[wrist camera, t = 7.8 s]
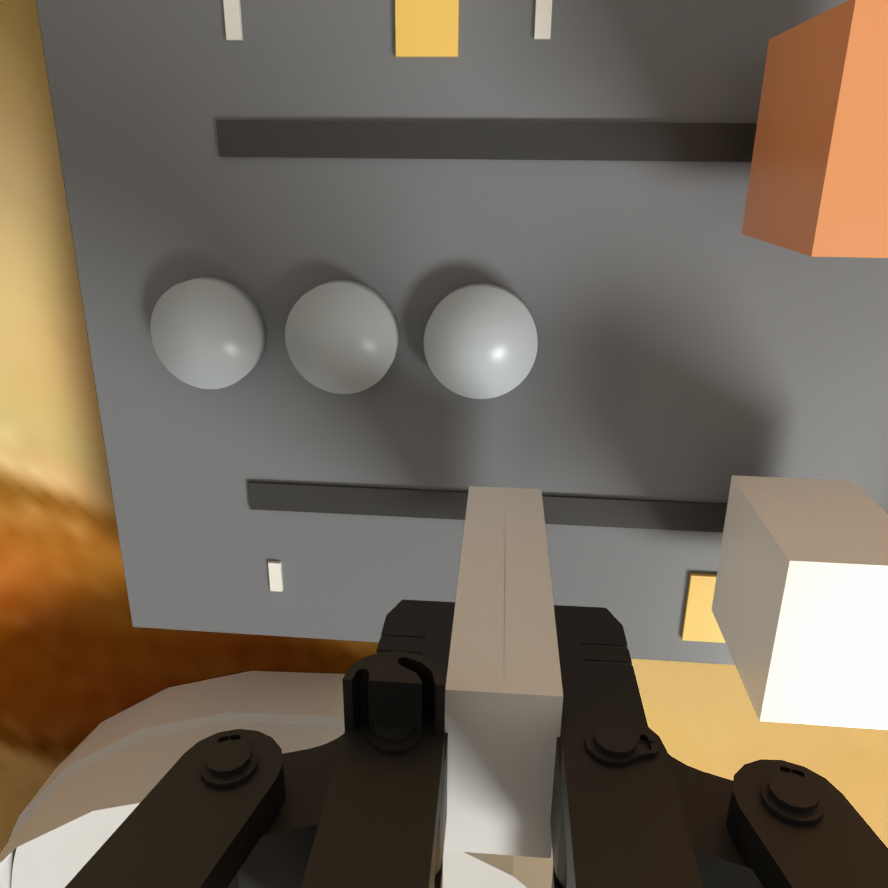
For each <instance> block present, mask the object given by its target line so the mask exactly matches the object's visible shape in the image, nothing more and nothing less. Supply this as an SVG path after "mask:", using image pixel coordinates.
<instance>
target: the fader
mask: <svg viewBox="0 0 888 888" xmlns="http://www.w3.org/2000/svg"><path fill="white" fill-rule="evenodd" d="M742 234H743V235H746V236H749V237H752V238H755V239H758V240H762V241H765V242H768V243H771V244H774V245H777V246H780V247H783V248H786V249H789V250H793V251H796V252H799V253H802V254H805V255H808V256H811V257H860V258H888V0H848V1H846V2H844V3H842V4H840V5H838V6H836V7H834V8H832V9H830V10H828V11H826V12H824V13H822V14H820V15H818V16H816V17H814V18H812V19H810V20H808V21H806V22H804V23H802V24H799V25H797V26H795V27H793V28H791V29H789V30H787V31H785V32H783V33H781V34H779V35H777V36H775V37H773V38H771V39H769V42H768V49H767V56H766V63H765V70H764V78H763V85H762V92H761V99H760V106H759V113H758V120H757V128H756V135H755V142H754V149H753V156H752V163H751V170H750V177H749V185H748V192H747V199H746V206H745V213H744V220H743V227H742Z"/></svg>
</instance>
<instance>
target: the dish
mask: <svg viewBox="0 0 888 888" xmlns="http://www.w3.org/2000/svg"><path fill="white" fill-rule="evenodd" d="M344 676H345V674H334V673H303V672H272V671H248V672H243V673H238V674H233V675H228V676H223V677H218V678H213V679H208V680H203V681H198V682H193V683H188V684H184V685H179V686H174V687H169V688H166V689H164V690H163V691H161V692H159V693H157V694H155V695H153V696H151V697H149V698H147V699H145V700H143V701H141V702H139V703H137V704H135V705H134V706H132V707H130V708H128V709H126V710H124V711H122V712H120V713H118V714H116V715H114V716H112V717H110V718H108V719H106V720H105V721H103V722H101V723H100V724H99V725H98V726H97V727H96V728H95V729H94V730H93V731H92V732H91V733H90V734H89V735H88V736H87V737H86V738H85V739H84V740H83V741H82V742H81V743H80V744H79V745H78V746H77V747H76V748H75V749H74V750H73V751H72V752H71V754H70V755H69V756H68V757H67V758H66V759H65V760H64V761H63V762H62V763H61V764H60V765H59V766H58V767H57V768H56V769H55V770H54V771H53V773H52V774H51V775H50V776H49V778H48V779H47V780H46V782H45V783H44V784H43V786H42V787H41V788H40V789H39V791H38V792H37V793H36V795H35V796H34V797H33V799H32V800H31V801H30V803H29V804H28V805H27V806H26V808H25V809H24V810H23V812H22V813H21V814H20V815H19V817H18V819H17V822H16V824H15V826H14V828H13V831H12V833H11V835H10V838H9V840H8V842H7V844H6V846H5V847H4V848H3V850H2V851H1V852H0V888H65V887H66V886H67V884H68V883H69V882H70V881H71V880H72V879H73V878H74V877H75V875H76V874H77V873H78V872H79V871H80V870H81V869H82V868H83V866H84V865H85V864H86V863H87V862H88V861H89V860H90V859H91V857H92V856H93V855H94V854H95V853H96V852H97V851H98V850H99V848H100V847H101V846H102V845H103V844H104V843H105V842H106V841H107V840H108V838H109V837H110V836H111V835H112V834H113V833H114V832H115V831H116V829H117V828H118V827H119V826H120V825H121V824H122V823H123V822H124V820H125V819H126V818H127V817H128V816H129V815H130V814H131V813H132V811H133V810H134V809H135V808H136V807H137V806H138V805H139V804H140V802H141V801H142V800H143V799H144V798H145V797H146V796H147V795H148V793H149V792H150V791H151V790H152V789H153V788H154V787H155V786H156V784H157V783H158V782H159V781H160V780H161V779H162V778H163V777H164V776H165V774H166V773H167V772H168V771H169V770H170V769H171V768H172V767H173V765H174V764H175V763H176V762H177V761H178V760H179V759H180V758H181V756H182V755H183V754H184V753H185V752H187V751H188V750H189V749H190V748H191V747H193V746H194V745H195V744H196V743H197V742H199V741H200V740H203V739H205V738H207V737H209V736H212V735H214V734H216V733H218V732H224V731H229V730H235V729H245V730H256V731H259V732H261V733H264V734H266V735H268V736H270V737H272V738H273V739H274V740H275V741H276V743H277V744H278V745H279V746H280V748H281V749H282V754H283V753H289V752H294V751H300V750H305V749H310V748H314V747H317V746H321V745H324V744H326V743H328V742H330V741H333V740H335V739H337V738H338V737H340V736H341V735H342V734H344V732H345V727H344V704H343V682H342V679H343V677H344ZM552 873H553V852H552V849H551V858H540V857H526V856H512V855H499V854H485V853H471V852H457V851H444V852H443V887H442V888H551V886H552Z"/></svg>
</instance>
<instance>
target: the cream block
mask: <svg viewBox="0 0 888 888" xmlns="http://www.w3.org/2000/svg"><path fill="white" fill-rule="evenodd" d="M711 610H712V612H713V614H714V617H715V619H716V621H717V623H718V626H719V628H720V630H721V633H722V635H723V637H724V640H725V642H726V644H727V647H728V649H729V651H730V654H731V656H732V658H733V661H734V663H735V665H736V668H737V670H738V672H739V675H740V677H741V679H742V682H743V684H744V686H745V689H746V691H747V693H748V696H749V698H750V700H751V703H752V705H753V707H754V710H755V712H756V714H757V717H758V719H759V721H765V722H779V723H794V724H808V725H822V726H837V727H851V728H866V729H880V730H888V513H887V512H886V511H884V510H883V509H882V508H881V507H880V506H879V505H878V504H877V503H876V502H875V501H874V500H873V499H872V498H871V497H870V496H869V495H868V494H867V493H866V492H865V491H863V490H862V489H861V488H860V487H859V486H858V485H857V484H856V483H855V482H854V481H851V480H827V479H804V478H781V477H758V476H735V475H732V478H731V484H730V491H729V497H728V504H727V511H726V517H725V524H724V530H723V537H722V543H721V550H720V557H719V563H718V570H717V576H716V583H715V589H714V596H713V603H712V609H711Z"/></svg>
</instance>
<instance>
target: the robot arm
mask: <svg viewBox="0 0 888 888" xmlns="http://www.w3.org/2000/svg"><path fill="white" fill-rule="evenodd" d="M342 682H343V704H344V727H345V732H344V734H342V735H341V736H340V737H338V738H337V739H335V740H333V741H330V742H328V743H326V744H324V745H321V746H317V747H314V748H310V749H305V750H300V751H294V752H289V753H283V754H282V749H281V748H280V746H279V745H278V744H277V743H276V741H275V740H274V739H273V738H272V737H270V736H268V735H266V734H264V733H261V732H259V731H256V730H245V729H235V730H229V731H224V732H218V733H216V734H214V735H212V736H209V737H207V738H205V739H203V740H200V741H199V742H197V743H196V744H195V745H194V746H193V747H191V748H190V749H189V750H188V751H187V752H185V753H184V754H183V755H182V756H181V758H180V759H179V760H178V761H177V762H176V763H175V764H174V765H173V767H172V768H171V769H170V770H169V771H168V772H167V773H166V774H165V776H164V777H163V778H162V779H161V780H160V781H159V782H158V783H157V784H156V786H155V787H154V788H153V789H152V790H151V791H150V792H149V793H148V795H147V796H146V797H145V798H144V799H143V800H142V801H141V802H140V804H139V805H138V806H137V807H136V808H135V809H134V810H133V811H132V813H131V814H130V815H129V816H128V817H127V818H126V819H125V820H124V822H123V823H122V824H121V825H120V826H119V827H118V828H117V829H116V831H115V832H114V833H113V834H112V835H111V836H110V837H109V838H108V840H107V841H106V842H105V843H104V844H103V845H102V846H101V847H100V848H99V850H98V851H97V852H96V853H95V854H94V855H93V856H92V857H91V859H90V860H89V861H88V862H87V863H86V864H85V865H84V866H83V868H82V869H81V870H80V871H79V872H78V873H77V874H76V875H75V877H74V878H73V879H72V880H71V881H70V882H69V883H68V884H67V886H66V887H65V888H442V887H443V852H444V851H457V852H471V853H485V854H499V855H512V856H526V857H540V858H551V849H552V852H553V873H552V886H551V888H888V848H887V847H886V846H885V845H884V843H883V842H882V841H881V840H880V839H879V837H878V836H877V835H876V834H875V833H874V831H873V830H872V829H871V828H870V827H869V825H868V824H867V823H866V822H865V821H864V819H863V818H862V817H861V816H860V815H859V813H858V812H857V811H856V810H855V809H854V807H853V806H852V805H851V804H850V803H849V801H848V800H847V799H846V798H845V797H844V795H843V794H842V793H841V792H840V791H838V790H837V789H836V788H835V787H834V786H833V785H832V784H831V783H830V782H829V781H827V780H826V779H825V778H823V777H822V776H820V775H818V774H816V773H814V772H813V771H811V770H809V769H807V768H805V767H803V766H799V765H796V764H793V763H789V762H786V761H782V760H758V761H755V762H752V763H748V764H745V765H744V766H743V767H742V768H741V769H740V770H739V771H738V772H737V773H736V774H735V775H734V780H733V781H732V780H728V779H725V778H722V777H718V776H715V775H712V774H709V773H705V772H702V771H700V770H697V769H694V768H692V767H689V766H687V765H685V764H683V763H682V762H680V761H678V760H676V759H675V758H673V757H672V756H670V755H669V754H668V753H667V750H666V749H665V747H664V745H663V743H662V741H661V739H660V737H659V736H658V735H657V734H655V733H654V732H653V731H652V730H651V729H650V728H649V727H648V725H647V721H646V717H645V713H644V709H643V705H642V701H641V697H640V693H639V689H638V685H637V681H636V677H635V673H634V669H633V666H632V661H631V657H630V653H629V649H628V645H627V641H626V637H625V633H624V629H623V625H622V624H621V623H620V622H619V621H618V620H617V619H616V618H615V617H614V616H613V615H612V613H611V612H610V611H609V610H608V609H607V608H603V607H583V606H563V605H554V604H553V594H552V585H551V575H550V566H549V556H548V547H547V537H546V528H545V518H544V509H543V499H542V490H541V489H531V488H506V487H481V486H469V491H468V500H467V508H466V517H465V525H464V534H463V543H462V551H461V560H460V568H459V577H458V585H457V594H456V602H442V601H422V600H401V601H400V602H399V603H398V604H397V605H396V606H395V607H394V608H393V609H392V610H391V611H390V612H389V613H388V614H387V615H386V618H385V622H384V625H383V629H382V633H381V638H380V640H379V644H378V648H377V654H374V655H371V656H368V657H365V658H363V659H361V660H360V661H358V662H357V663H355V664H354V665H353V666H351V667H350V668H349V670H348V671H347V673H346V674H345V676H344V677H343V679H342Z"/></svg>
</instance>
